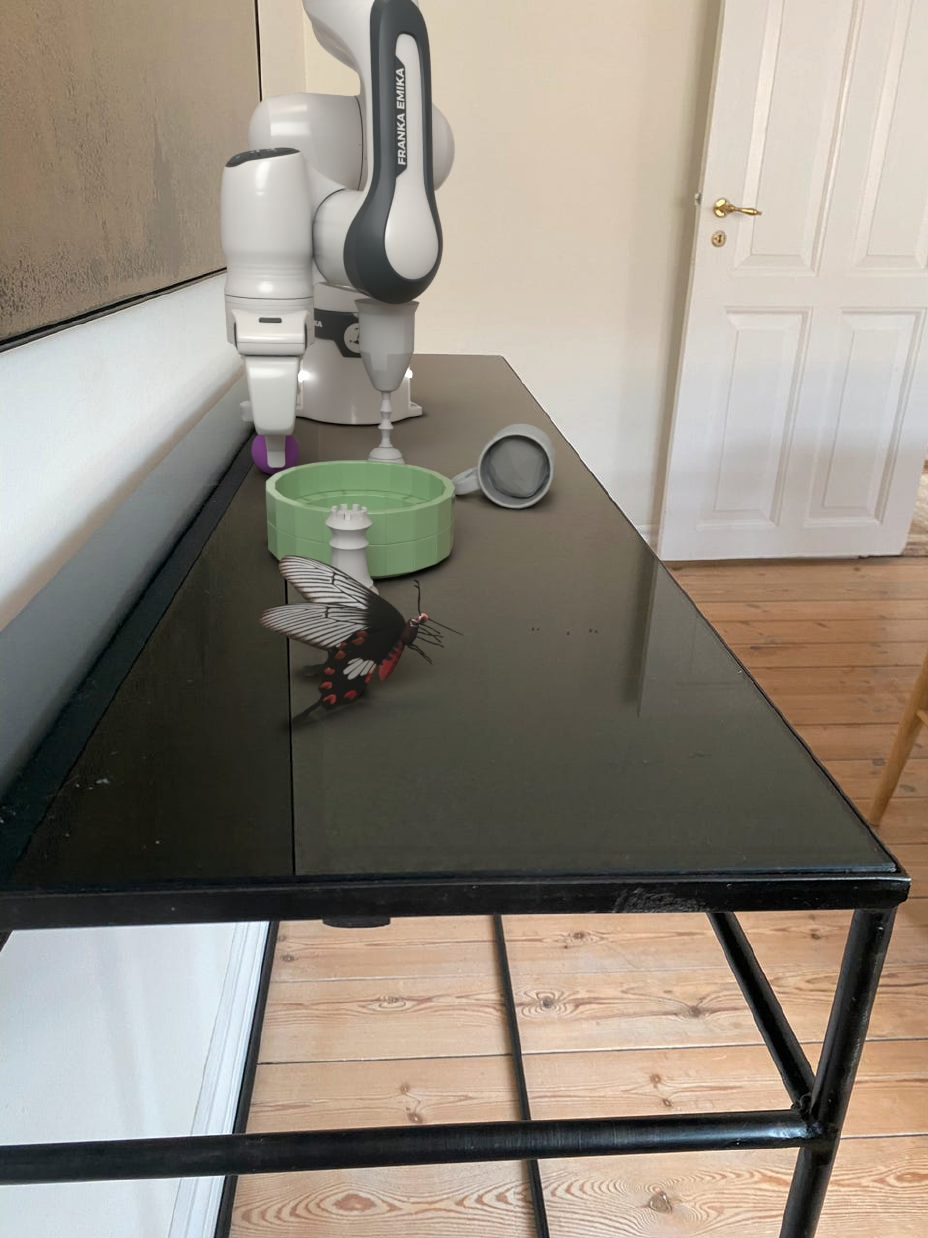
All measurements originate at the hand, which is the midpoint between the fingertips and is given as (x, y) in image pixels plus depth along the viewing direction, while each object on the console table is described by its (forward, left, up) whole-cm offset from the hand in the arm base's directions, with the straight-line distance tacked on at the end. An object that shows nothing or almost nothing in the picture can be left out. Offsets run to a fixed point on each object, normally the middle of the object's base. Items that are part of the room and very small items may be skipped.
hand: (276, 458), depth 100 cm
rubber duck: (-20, -1, -2) cm, 20 cm away
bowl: (+25, +7, -2) cm, 26 cm away
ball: (0, 0, +1) cm, 1 cm away
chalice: (-1, +12, -2) cm, 12 cm away
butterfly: (+52, +4, -2) cm, 52 cm away
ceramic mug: (+10, +23, -2) cm, 25 cm away
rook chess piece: (+38, +5, -2) cm, 38 cm away
